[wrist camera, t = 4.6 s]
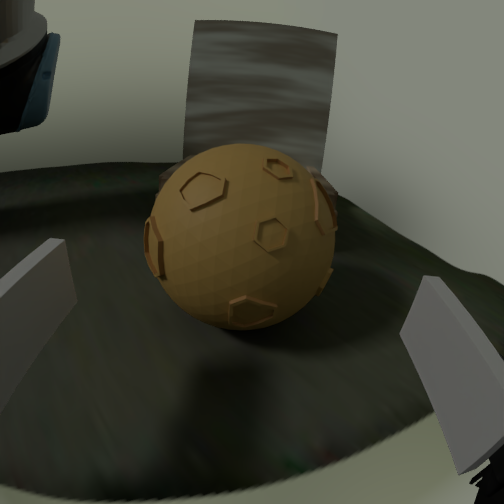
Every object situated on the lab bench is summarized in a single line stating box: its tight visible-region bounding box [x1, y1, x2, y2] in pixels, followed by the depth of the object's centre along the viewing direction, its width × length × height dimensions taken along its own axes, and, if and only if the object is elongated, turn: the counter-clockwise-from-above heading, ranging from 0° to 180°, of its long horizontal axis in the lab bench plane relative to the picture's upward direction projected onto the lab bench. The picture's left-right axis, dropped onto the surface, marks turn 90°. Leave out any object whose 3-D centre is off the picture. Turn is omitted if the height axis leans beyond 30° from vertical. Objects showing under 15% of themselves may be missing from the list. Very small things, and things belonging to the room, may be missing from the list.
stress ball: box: [144, 143, 338, 331], centre depth 16 cm, size 10×10×10 cm
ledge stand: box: [155, 20, 338, 219], centre depth 29 cm, size 16×18×24 cm
